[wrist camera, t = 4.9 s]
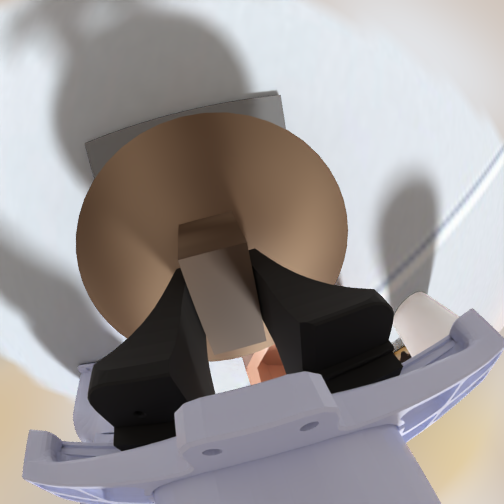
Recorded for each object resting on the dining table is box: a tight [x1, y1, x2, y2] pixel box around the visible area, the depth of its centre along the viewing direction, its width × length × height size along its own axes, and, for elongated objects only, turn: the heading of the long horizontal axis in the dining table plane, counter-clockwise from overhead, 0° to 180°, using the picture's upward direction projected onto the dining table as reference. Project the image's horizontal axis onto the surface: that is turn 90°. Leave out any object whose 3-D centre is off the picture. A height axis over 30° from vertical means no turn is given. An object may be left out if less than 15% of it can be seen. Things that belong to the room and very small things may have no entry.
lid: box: [76, 112, 348, 361], centre depth 12 cm, size 14×14×4 cm
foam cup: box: [393, 292, 459, 357], centre depth 27 cm, size 10×9×13 cm
